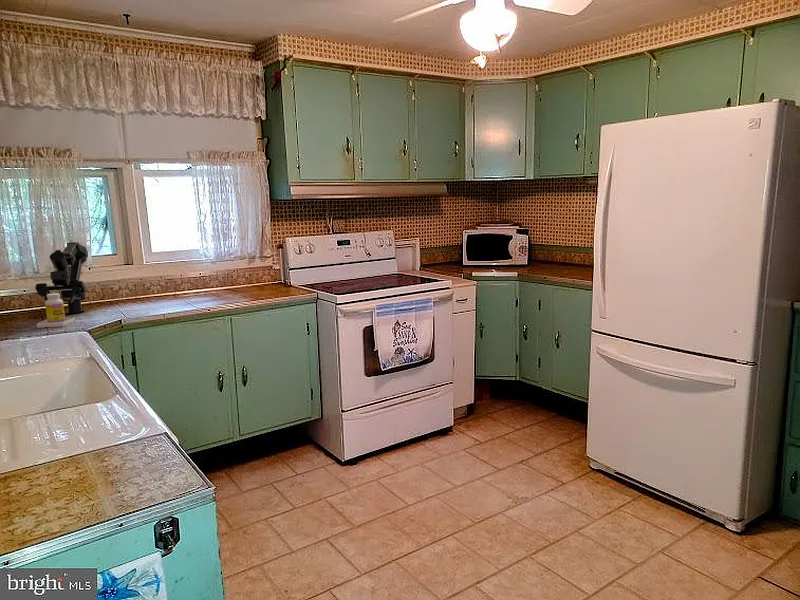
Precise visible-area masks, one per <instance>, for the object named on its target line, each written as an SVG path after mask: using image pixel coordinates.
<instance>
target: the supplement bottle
mask: <svg viewBox="0 0 800 600" xmlns="http://www.w3.org/2000/svg"><path fill="white" fill-rule="evenodd" d="M60 294H61V293H49V294H47V298H48V300H47V301H45V302H44V306H45V312H46V320H47V322H48V323H51V322H64V321H65V318H66V312H65V308H64V307H65V306H64V301H63V300H62V298H61V299H60V296H61V295H60Z"/></svg>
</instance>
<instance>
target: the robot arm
mask: <svg viewBox="0 0 800 600" xmlns="http://www.w3.org/2000/svg"><path fill="white" fill-rule="evenodd" d="M88 257H89V251H88V249H87V247H86V246H84V245H82V244H80V242H77V241H74V242H73V241H71V242H67V243H66V246H65V248H64V249H63V250H61V249H56V250H55V251H54V252H52V253H51V254H50V255H49V259H50V262H51V263H52V266H53V268H54V269H56V270H54V271H50V273H49V274H50V278H49V279H50V280H51V284H53V285H48V284H47V283H46V282H45V283H44V282H42V283H41V282H39V283H36V284H35V286H34V287H35V290H36V292H37V294H38V295H39V296H41V297H43V298H44V301H45V302H46V301H47V300H48V298H47V294H50V291H60V294H61V295H60V296H61V300H62V301H63V302H67V311H68V312H69V313H78V314H81V313H80V312H81V311H82V310H83V309H82V308H83V306H82V301H84V300H86V295H85V293H86V292H87V291H86V289H87V287H86V285H85V283H84V281H83V280H80V279H81V271H82V267H83V266H82V265H83V264H85V263H86V262H87V260H88V259H87V258H88Z"/></svg>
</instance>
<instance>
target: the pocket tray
mask: <svg viewBox="0 0 800 600" xmlns="http://www.w3.org/2000/svg"><path fill="white" fill-rule="evenodd" d="M73 322H74V323H76V317H65V321H64V322H51V323H48V322H47V319H45V320H41V321H40V322H37V323H36V328H37V329H45V328H44V327H50V328H64V326H65V327H67V326H69V325H72V324H74V323H73ZM71 323H72V324H71ZM66 325H67V326H66Z"/></svg>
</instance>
